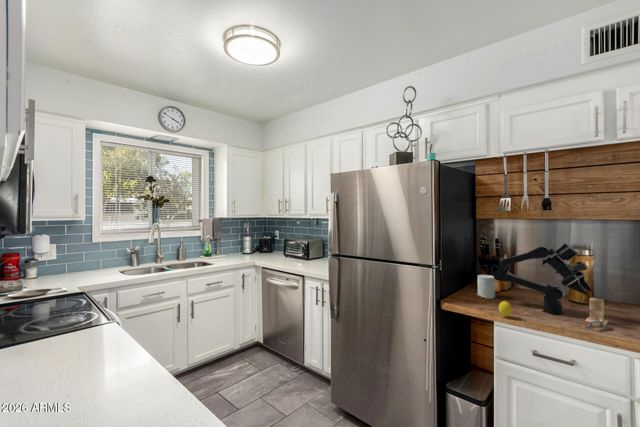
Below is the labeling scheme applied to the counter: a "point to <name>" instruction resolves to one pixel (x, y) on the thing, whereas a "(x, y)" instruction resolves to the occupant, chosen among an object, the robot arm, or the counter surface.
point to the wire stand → (597, 325)
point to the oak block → (596, 309)
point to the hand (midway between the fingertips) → (589, 292)
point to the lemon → (505, 308)
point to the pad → (603, 321)
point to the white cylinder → (486, 286)
